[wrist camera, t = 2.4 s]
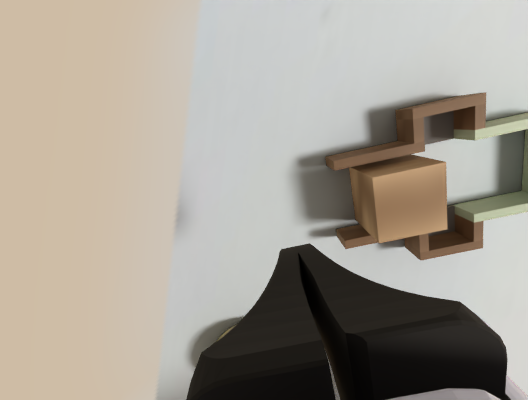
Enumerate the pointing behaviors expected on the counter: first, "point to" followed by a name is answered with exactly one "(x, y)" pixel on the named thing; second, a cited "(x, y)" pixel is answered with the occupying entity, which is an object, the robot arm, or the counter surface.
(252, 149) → the counter surface
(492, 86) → the counter surface
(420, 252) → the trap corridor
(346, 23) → the counter surface
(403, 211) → the oak block
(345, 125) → the counter surface
